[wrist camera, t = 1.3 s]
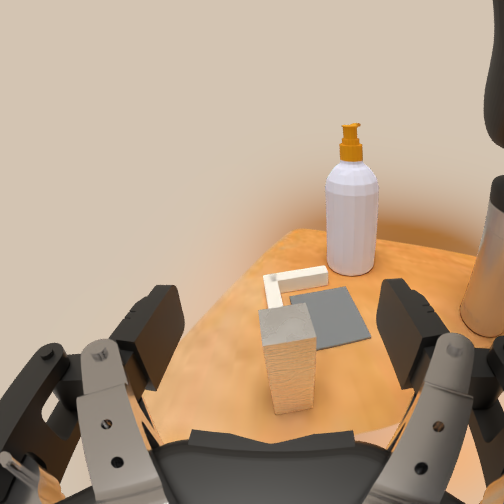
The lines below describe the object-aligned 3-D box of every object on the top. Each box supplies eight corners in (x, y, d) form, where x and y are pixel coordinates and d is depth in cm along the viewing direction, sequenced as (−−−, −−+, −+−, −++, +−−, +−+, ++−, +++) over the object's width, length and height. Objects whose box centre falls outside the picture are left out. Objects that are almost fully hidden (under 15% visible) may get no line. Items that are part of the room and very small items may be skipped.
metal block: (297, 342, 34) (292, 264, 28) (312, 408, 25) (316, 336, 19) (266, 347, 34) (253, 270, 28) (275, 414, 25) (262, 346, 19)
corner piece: (324, 277, 45) (324, 265, 43) (348, 331, 34) (350, 318, 32) (264, 287, 45) (263, 275, 43) (274, 345, 34) (272, 332, 33)
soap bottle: (380, 254, 48) (383, 124, 36) (365, 282, 42) (370, 129, 30) (339, 244, 53) (334, 121, 41) (319, 269, 47) (311, 127, 35)
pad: (345, 287, 41) (345, 286, 41) (371, 337, 32) (371, 336, 32) (289, 297, 42) (289, 296, 41) (304, 352, 32) (304, 351, 32)
